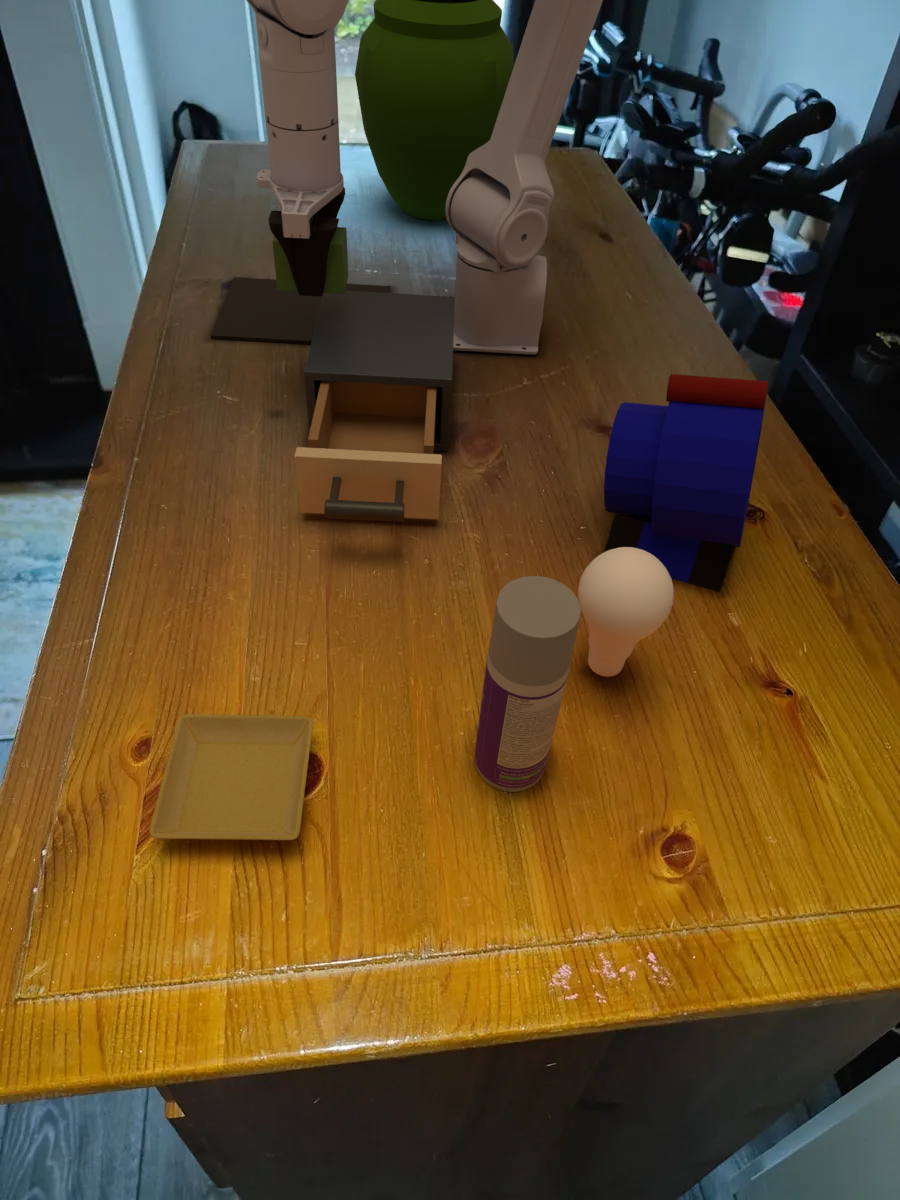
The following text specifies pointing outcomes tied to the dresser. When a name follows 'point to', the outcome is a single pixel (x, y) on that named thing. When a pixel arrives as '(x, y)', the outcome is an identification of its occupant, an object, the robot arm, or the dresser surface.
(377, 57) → the vase
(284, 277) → the block
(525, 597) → the container
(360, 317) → the cabinet
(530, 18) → the robot arm
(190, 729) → the saucer
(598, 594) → the lightbulb
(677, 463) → the alarm clock
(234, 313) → the mat
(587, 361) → the dresser surface
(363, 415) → the drawer
